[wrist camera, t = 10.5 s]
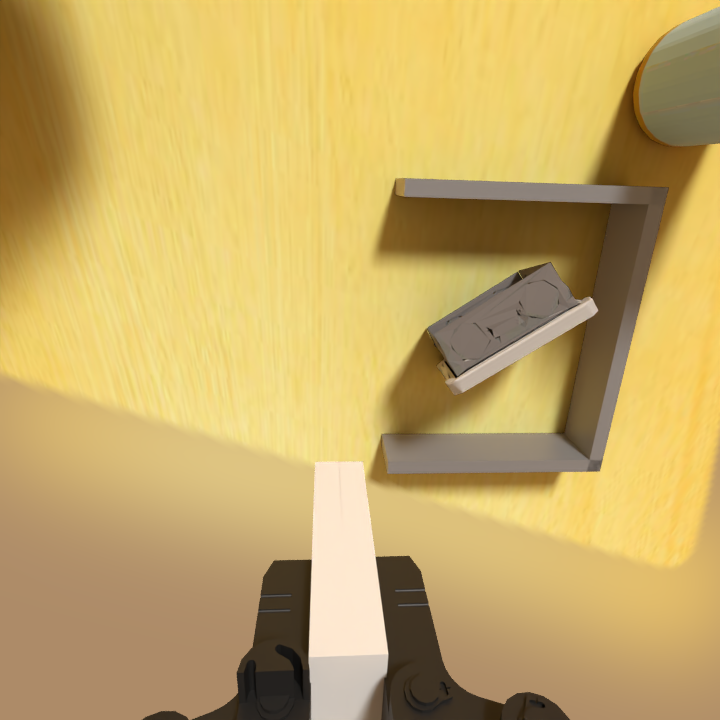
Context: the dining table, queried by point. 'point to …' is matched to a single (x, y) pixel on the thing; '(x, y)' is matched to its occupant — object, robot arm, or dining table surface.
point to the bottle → (682, 84)
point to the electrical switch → (506, 325)
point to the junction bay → (599, 350)
